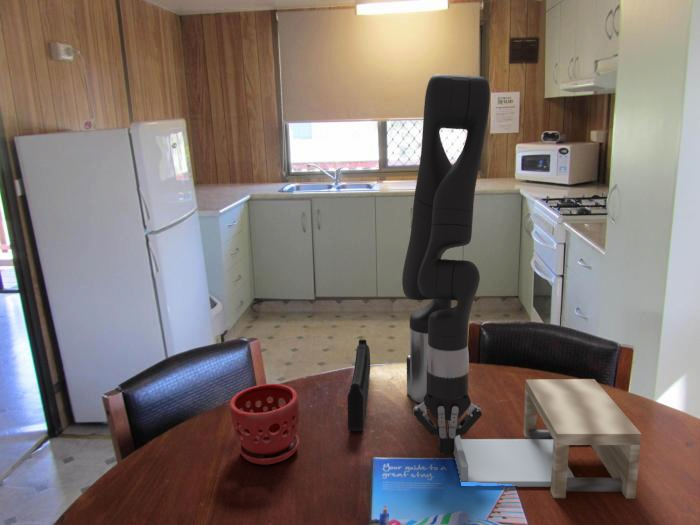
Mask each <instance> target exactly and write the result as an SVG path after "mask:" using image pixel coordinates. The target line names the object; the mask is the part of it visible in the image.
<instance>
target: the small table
mask: <svg viewBox="0 0 700 525" xmlns="http://www.w3.org/2000/svg"><path fill="white" fill-rule="evenodd" d="M523 411H524V413H523V432H522V433H523V436H524V439H553V456H552V474H551V487H550V493H551V495H552V498H553V499H566V498H567V492H615V493H616V492H621V493H622V495H623V496H624V497H625V499H628V500H629V499H633V500H634V499H636V496H637V485H638V474H639V466H640V453H641V445H642V444H641V443H642V433H641V432H640V430H639V429H638V428H637V427H636V426H635V425H634V424H633V422H632V421H631V420H630V419H629V417H628V416H627V415H626V414H625V413H624V412H623V411H622V410H621V408H620V407H619V405H617V403H616V402H615V401H614V400H613V399H612V398H611V396H609V394H608V393H607V392H606V390H604V388H603V387H602V386H601V385H600V383H598V382H597V380H596V379H595V378H581V379H580V378H579V379H578V378H571V379H569V378H567V379H561V378H559V379H557V378H556V379H555V378H554V379H549V378H548V379H547V378H546V379H541V378H540V379H539V378H538V379H525V386H524V408H523ZM537 413H538V414H539V416H540V418H541V419H542V421H543V423H544V425H545V427H546V429H537ZM570 446H590V447H591V448H592V449H593V451H594V453H595V454H596V455H597V457H598V458H599V459H600V460H599V461H601V463H602V464H603V466H604V467H605V469H606V471H607V472H608V474H609V476H611V477H575V478H567V469H568V467H569V464H568V463H569V452H570Z"/></svg>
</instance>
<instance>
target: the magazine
mask: <svg viewBox="0 0 700 525" xmlns="http://www.w3.org/2000/svg"><path fill="white" fill-rule="evenodd" d="M352 375H353V376H352V380H351V384H350V388H349V392H348V394H347V430H348V431H351V432H360V431H363V430H364V423H365V419H366V413H367V406H368V397H369V387H370V386H369V385H370V375H371V351H370V347H369V345H368V344H367V339H364V338H363V339H359V340H358V345H357V347H356V352H355V362H354V370H353V374H352Z"/></svg>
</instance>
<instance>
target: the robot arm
mask: <svg viewBox="0 0 700 525" xmlns="http://www.w3.org/2000/svg"><path fill="white" fill-rule="evenodd" d="M490 90H491V89H490V84H489V81H488V80H487V78H485V77H484V76H478V75H467V74H466V75H465V74H450V73H449V74H448V73H437V74H434V75H432V76H431V77H430V78H429V80H428V82H427V85H426V90H425V96H424V106H423V118H422V119H423V121H422V133H421V134H422V135H421V148H420V159H419V166H418V171H417V179H416V183H415V184H416V185H415V189H414V198H413V205H412V206H413V207H412V208H413V209H412V215H411V217H412V218H411V219H412V220H411V229H410V235H409V242H408V245H407V251H406V254H405V259H404V263H403V270H402V277H401V278H402V279H401V283H402V291H403V294H404V295H405V297H406V298H407V299H409V300H412V301H424V300H426V301H427V300H431V301H430V302H429V303H428V304H426V306H424V307H422V308H420V309H417V310H415V311H414V312H412V313H411V314H410V316H409V355H407V356H406V394H407V395H409V396H410V399H412V400H413V401H414V402H417V403H419V404H417V403H416V404H414V405H412V406H413V407H412V410H413V415H414V417H416V419H417V420H418V421H419V423H420V424H421V425H422V426H423V427H424V428H425V429H426V431H427V432H428V433H429V434H430V436H437V437H438V451H439V453H440V454H442V456H444V457H445V456H446V457H447V456H448V457H449V456H450V457H451V456H452V454H453V452H454V447H455V446H454V445H455V437H456V436H458V435H460V437H462V436H465V435H466V433H468V431H469V430H470V429H471V428H472V427H473V426H474V425H475V424H476V423H477V421H478V420H479V419H480V418H481V417H482V409H481V407H480V405H477V404H474V402H473V403H472V401H471V397H470V395H469V374H470V373H469V370H470V366H469V365H470V362H469V361H470V356H469V355H470V354H469V353H470V352H469V344H468V342H469V340H468V338H469V323H470V322H469V321H470V315H471V314H470V313H471V311H472V306H473V303H474V300H475V297H476V294H477V292H478V289H479V285H480V279H481V278H480V277H481V276H480V271H479V269H478V267H477V265H476V264H475V263H474V262H472V261H470V260H463V259H448V258H445V257H442V256H444V253H445V252H446V251H447V250H450V249H453V248H460V247H464V246H467V245H469V244H470V242H471V240H472V235H473V234H472V233H473V219H474V202H475V194H476V193H475V192H476V186H477V181H478V180H477V179H478V174H479V170H480V164H481V159H482V154H483V150H484V149H483V148H484V144H485V137H486V131H487V130H486V129H487V124H488V120H489V118H488V117H489V113H490V101H491V92H490ZM441 129H449V130H450V129H451V130H466V138H465V141H464V145H463V147H462V149H461V152H460V154H459V155H458V157H457V159H456V160H455V162H454V163H453V165H452V163H451V161H450V159H449V157H448V155H447V153H446V150H445V148H444V146H443V142H442V139H441V134H440V132H441ZM452 301H456V302H457V303H456V305H455V306H454V307H452V303H453V302H452ZM427 411H429V412H430V414H431V415H432V416H433V418H434V419H436V420H437V425H436V424H435V423H434V422H433V420H432V419H431V418H430V416H428V413H427ZM466 412H467V413H466ZM465 413H466V415H464V414H465ZM463 415H464V417H463V418H462V416H463ZM460 418H462V419H461V420H460V421H459V422H458V420H459V419H460ZM446 421H447V424H446ZM446 425H447V430H446Z"/></svg>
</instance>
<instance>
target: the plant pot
mask: <svg viewBox="0 0 700 525" xmlns="http://www.w3.org/2000/svg"><path fill="white" fill-rule="evenodd" d="M268 398H272V401H269V400H268ZM298 398H299V397H298V394H297V391H296V390H295V389H294V387H291V386H289V385H286V384H279V383H264V384H258V385H255V386H251V387H248V388H246V389H243V390H241V391H239V392H238V393H236V394H235V395H234V396H233V397H232V398H231V400H230V402H229V410H230V417H231V422H232V426H233V428H234V433H235V436H236V437H237V438H236V439H237V440H238V441H239V443H240V445H239V452H240V454H241V456H242V458H244V459H245V460H247V462H250V463H252V464H257V465H265V466H268V465H272V464H277V463H280V462H283V461H285V460H287V459H289V458H290V457H291V456H293V455H294V453H295V452H296V450H298V447H299V445H300V439H299V436H298V435H297V432H298V426H299V415H300V414H299V413H300V410H299V405H300V404H299V399H298ZM280 399H282V400H284V401H285V405H284V406H282V405H281V404H280V403H279V400H280ZM258 401H259V402H260V405H258V406H257V405H256V403H257V402H258ZM247 402H250V403H249V405H247ZM265 407H266V408H267V409H266V410H265V409H264V408H265ZM273 408H276V409H274V410H273ZM240 409H242V410H240ZM251 411H252V412H251Z"/></svg>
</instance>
